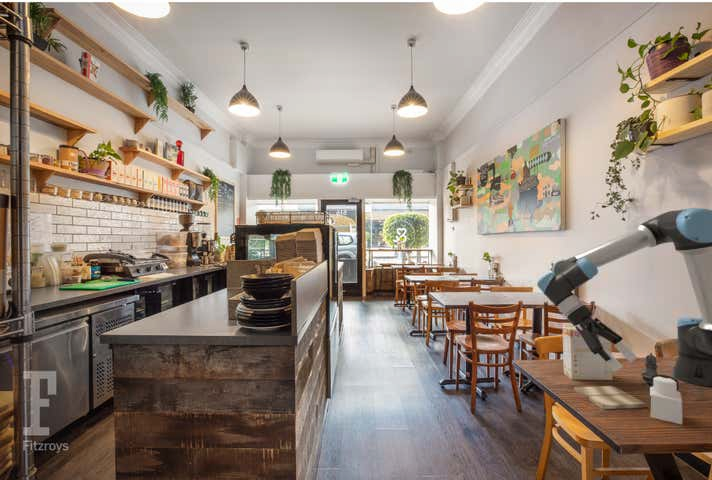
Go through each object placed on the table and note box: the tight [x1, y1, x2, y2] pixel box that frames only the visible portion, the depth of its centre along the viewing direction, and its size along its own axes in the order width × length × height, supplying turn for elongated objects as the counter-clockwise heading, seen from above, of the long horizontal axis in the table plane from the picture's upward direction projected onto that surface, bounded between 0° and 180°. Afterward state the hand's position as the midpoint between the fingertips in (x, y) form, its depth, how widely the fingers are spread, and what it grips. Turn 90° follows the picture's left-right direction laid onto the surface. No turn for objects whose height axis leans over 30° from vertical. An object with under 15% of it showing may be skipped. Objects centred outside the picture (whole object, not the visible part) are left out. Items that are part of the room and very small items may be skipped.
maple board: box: [573, 385, 647, 410], centre depth 121 cm, size 14×14×1 cm
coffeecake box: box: [562, 324, 614, 381], centre depth 140 cm, size 15×7×20 cm, turn 84°
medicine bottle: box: [649, 374, 683, 425], centre depth 108 cm, size 7×7×12 cm
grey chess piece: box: [641, 352, 659, 389], centre depth 130 cm, size 6×6×12 cm
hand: (626, 364), depth 115 cm, fingers open, 13 cm apart
